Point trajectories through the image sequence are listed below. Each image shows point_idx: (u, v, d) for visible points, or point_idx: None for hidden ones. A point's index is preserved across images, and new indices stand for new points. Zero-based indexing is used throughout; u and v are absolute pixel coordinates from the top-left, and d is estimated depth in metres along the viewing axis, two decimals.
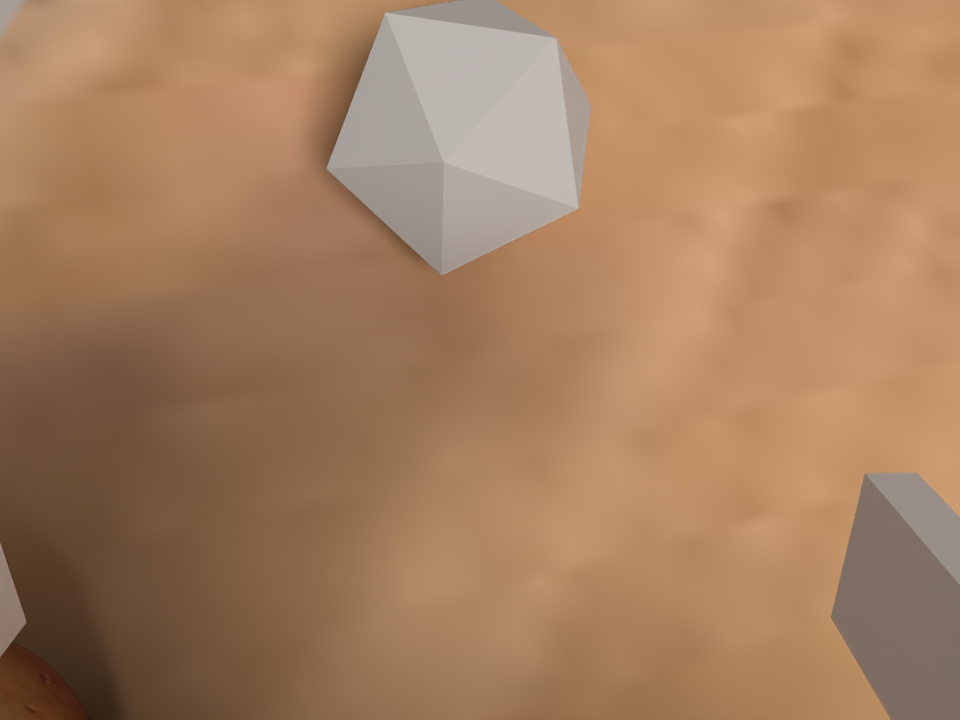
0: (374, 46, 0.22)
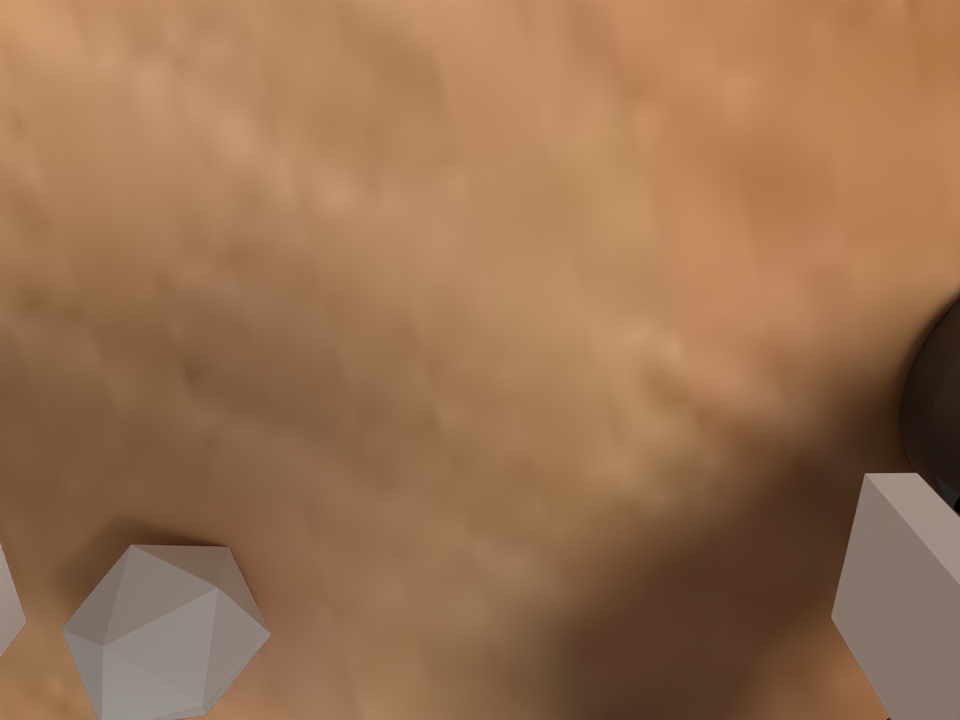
0: None
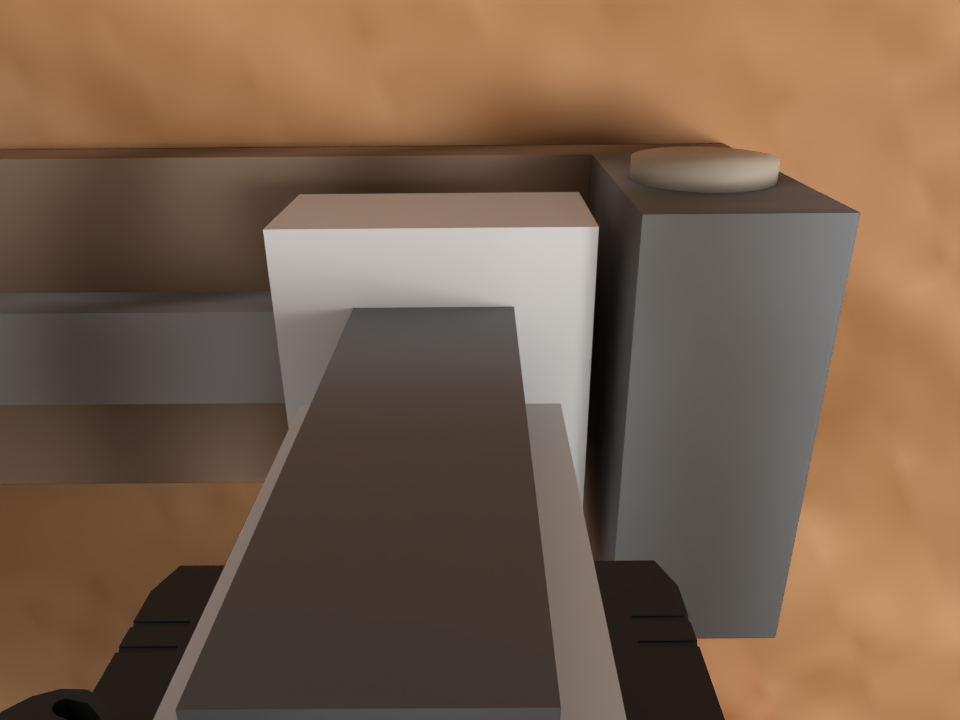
0: None
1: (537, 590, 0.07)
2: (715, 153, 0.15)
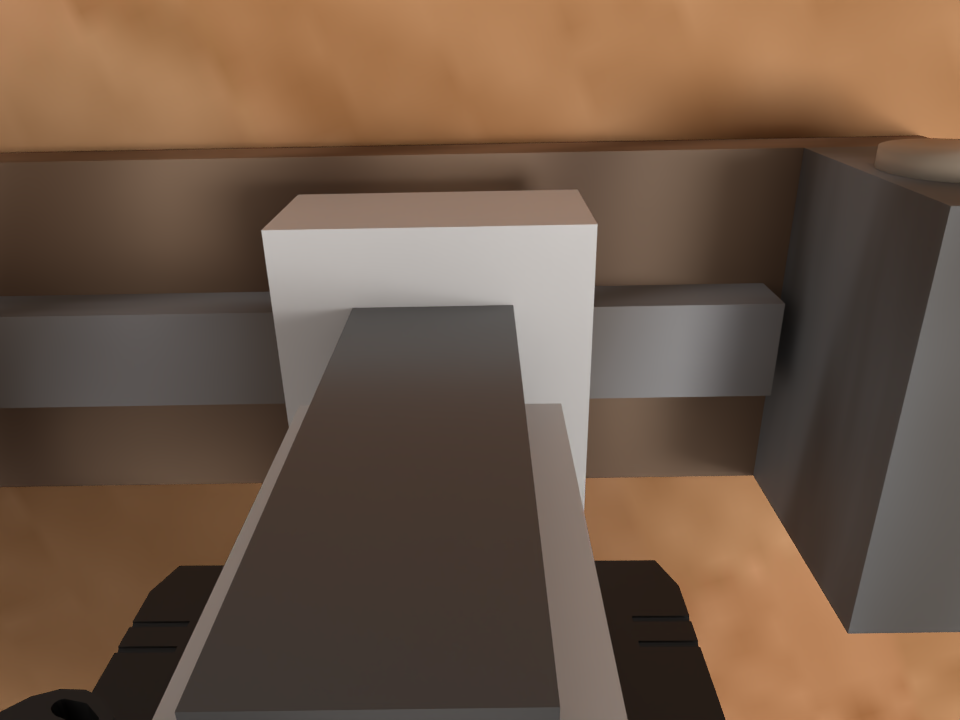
0: None
1: (536, 589, 0.07)
2: None
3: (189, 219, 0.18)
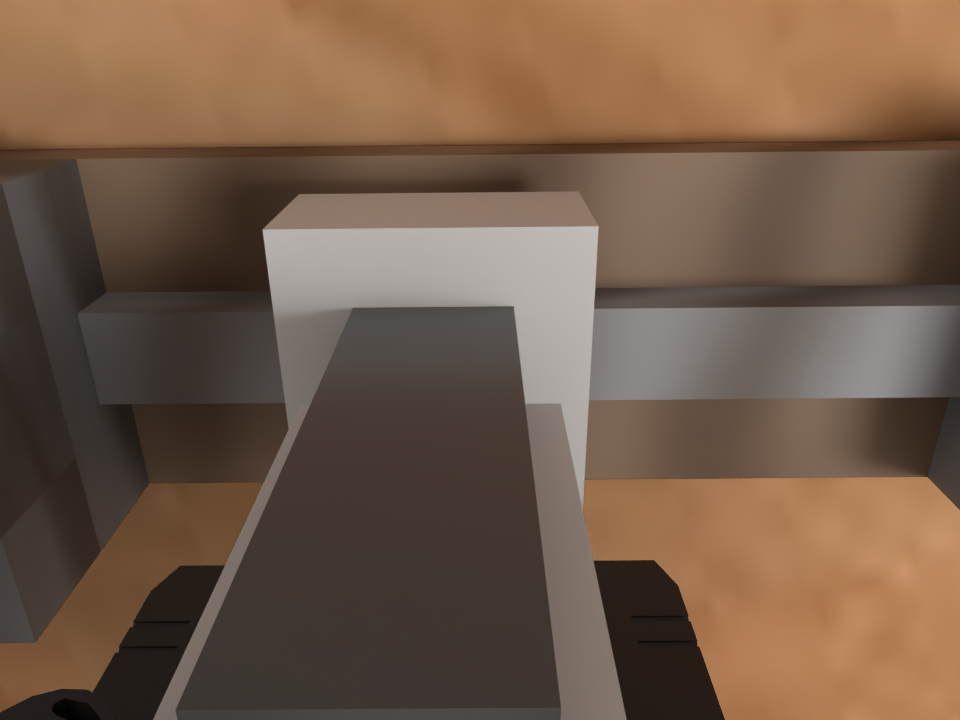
0: None
1: (537, 590, 0.07)
2: None
3: None
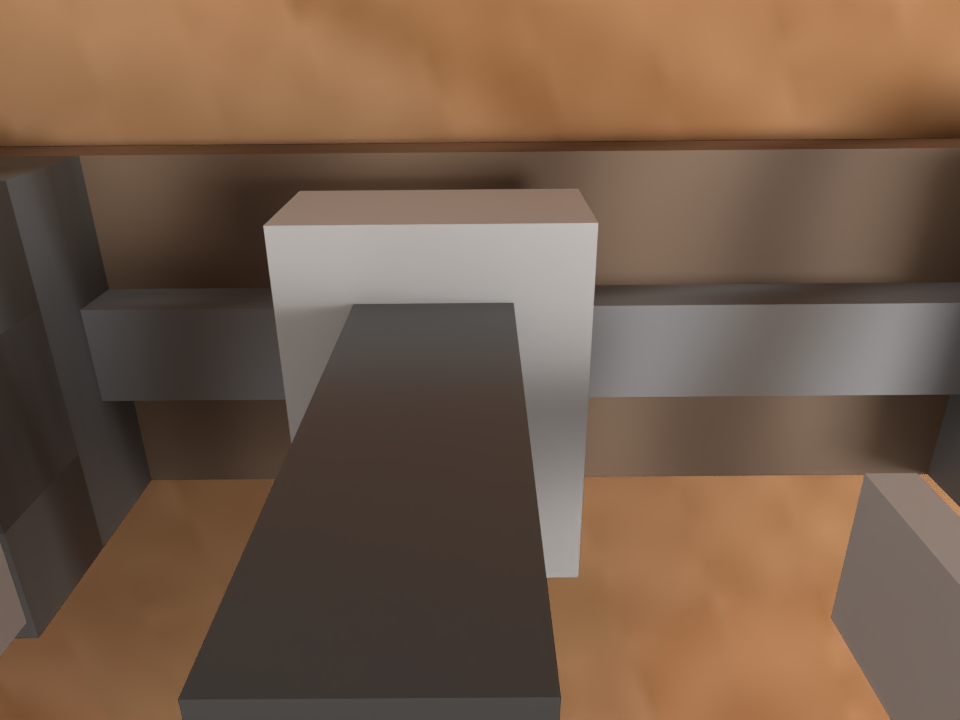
0: None
1: (537, 582, 0.07)
2: None
3: None
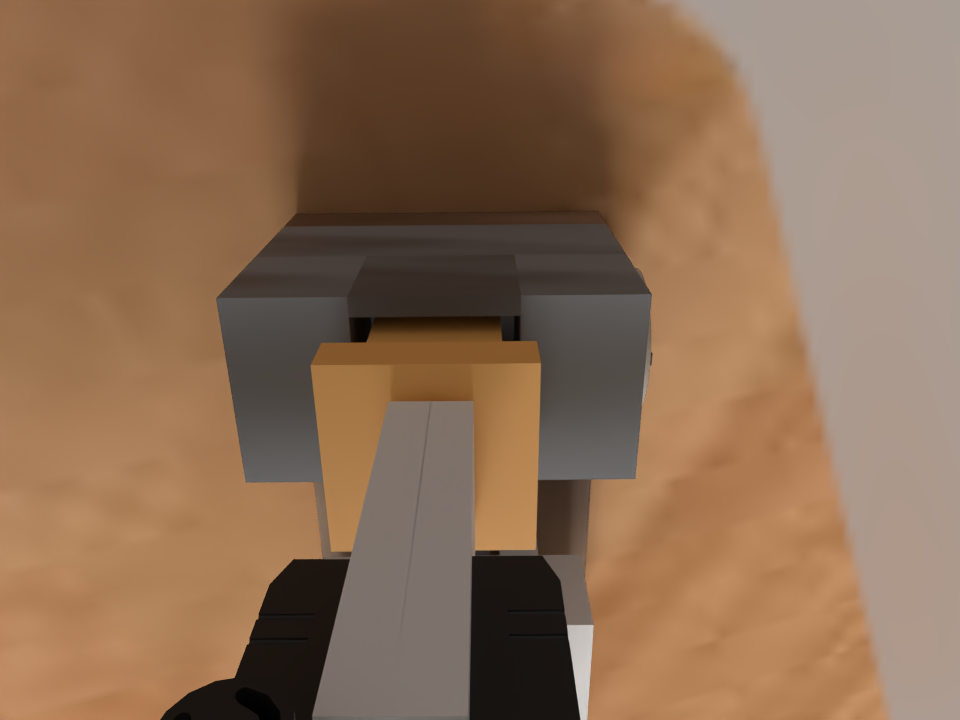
0: None
1: None
2: None
3: None
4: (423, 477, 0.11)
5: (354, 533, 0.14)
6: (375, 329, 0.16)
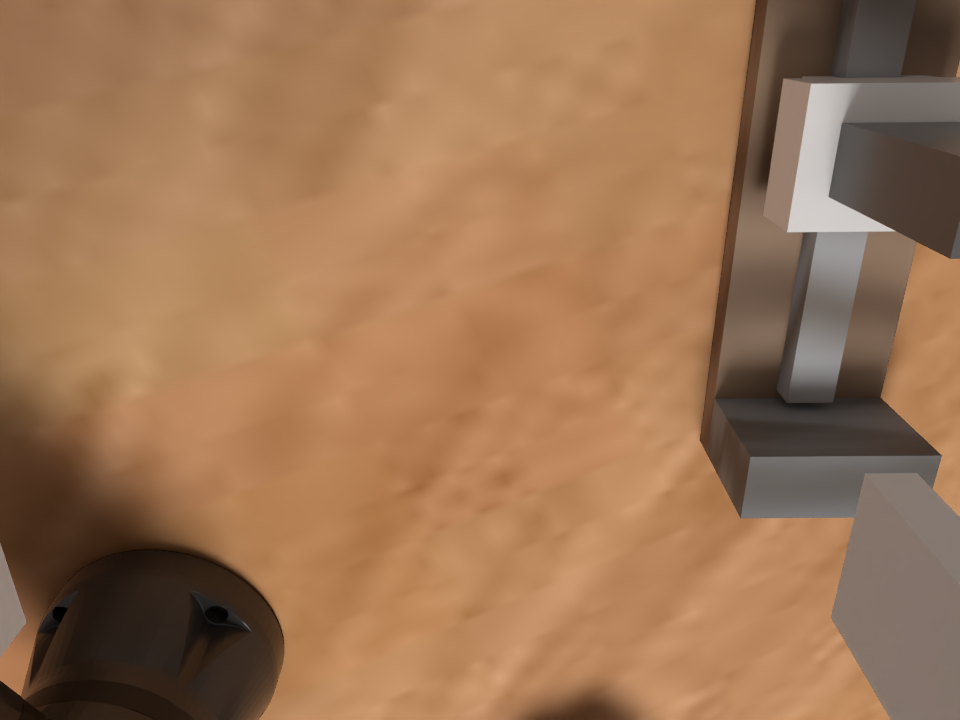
0: None
1: None
2: None
3: None
4: None
5: None
6: None
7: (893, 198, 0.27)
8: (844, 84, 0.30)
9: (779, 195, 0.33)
